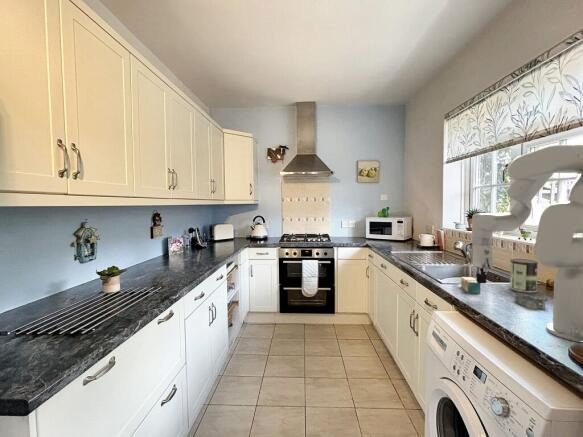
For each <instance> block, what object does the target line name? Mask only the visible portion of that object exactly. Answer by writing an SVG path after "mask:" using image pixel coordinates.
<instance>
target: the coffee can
mask: <svg viewBox="0 0 583 437" xmlns="http://www.w3.org/2000/svg"><path fill="white" fill-rule="evenodd" d="M509 260H510V261H509V262H510V271H509V273H510V277H509V279H510V284H509V289H510V290H513V291H515V292H522V293H532V294H533V293H537V292H538V290H537V289H538V288H537V287H538V286H537V285H538V265H539V261H538V260H537V261H536V260H533V259H524V258H511V259H509Z"/></svg>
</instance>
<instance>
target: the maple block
mask: <svg viewBox="0 0 583 437" xmlns="http://www.w3.org/2000/svg"><path fill="white" fill-rule="evenodd" d="M460 282H461V284H460V285H461V288H462V289H463V290H465V292H467V293H469V294H470V293H472V294H481V284H482V283H478V282H477V278H476V279H475V277H472V276H461V280H460Z"/></svg>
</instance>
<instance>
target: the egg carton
mask: <svg viewBox="0 0 583 437" xmlns="http://www.w3.org/2000/svg"><path fill="white" fill-rule="evenodd" d="M512 294H513V295H514V296H513V301H514V302H515V303H519V304H520V305H522V306H526V308H528V309H532V310H537V309H542V310H544V309H546V302H548V299H547V298H543V297H541V298H539V297H535V296H530V295H529V294H525V293H518V292H516V293H515V292H512Z"/></svg>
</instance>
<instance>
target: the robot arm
mask: <svg viewBox="0 0 583 437" xmlns="http://www.w3.org/2000/svg"><path fill="white" fill-rule="evenodd" d="M558 173H559V174H570V173H571V174H573V173H575V174H578V176H577V178H575V179H574V181H573V182H572V184H571V186H570V190H569V194H568V199H567V201H566V202H557V203H553V204H551V205H549V206H547V207H546V208H545V209H544V210H543V212H542V213H541V215H540V218H539V221H538V222H539V223H538V227H537V231H536V232H537V234H536V238H535V244H534V254H535V258H536V260H537V262H538V263H540V264H541V265H542V266H545V267H546V268H550V269H551V268H552V269H556V271H555V275H554V283H553V287H554V288H553V308H552V309H553V310H552V322H550V323H548V324H546V327H545V329H546V330H547V332H549V333H550V334H552V335H553V336H557V337H559V338H562V339H565V340H568V341H573V342H577V343H581V342H580V341H583V236H580V235H579V236H578V235H574V234H583V144H555V145H553V144H552V145H549V146H547V147H546V146H545V147H544V148H540V149H537V150H534V151H531V152H528V153H525V154H522V155H520V156H517V157H516V158H514V159H513V160H512V161H511V162H509V165H508V166H507V175H508V177H509V178H510V179H512V180H513V181H512V182H511V184H510V185H508V187H507V189H506V195H507V196H508V197H509V198H510V199H512V200H513V201H515V203H514V206H513V207H512V208H511V210H509V212H500V213H499V212H498V213H496V212H495V213H483V212H480V213H479V212H478V213H473V215H472V217H471V245H472V264H473V265H474V266H475V270H476V271H475V272H476V280H477V282H478V283H481V284H486V283H487V274H488V272H489V269H491V270H492V269H493V268H494V258H493V254H494V253H493V247H492V246H493V233H496V232H498V233H499V232H513V231H514V232H515V231H516V230H518V229H519V228H521V226H523V224H524V223H525V222H526V221H527V220H528V219H529V217H530V215H531V214H532V213H531V212H532V207H533V205H532V204H533V203H532V200H533V199H534V198H535V196H536V195H537V194H538V193H539V192H540V191H541V189H542V188H543V187H544V186H545V184H546V183H547V182H548V181H549V180H550V179H551V178H552V176H553V175H554V174H558Z"/></svg>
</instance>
